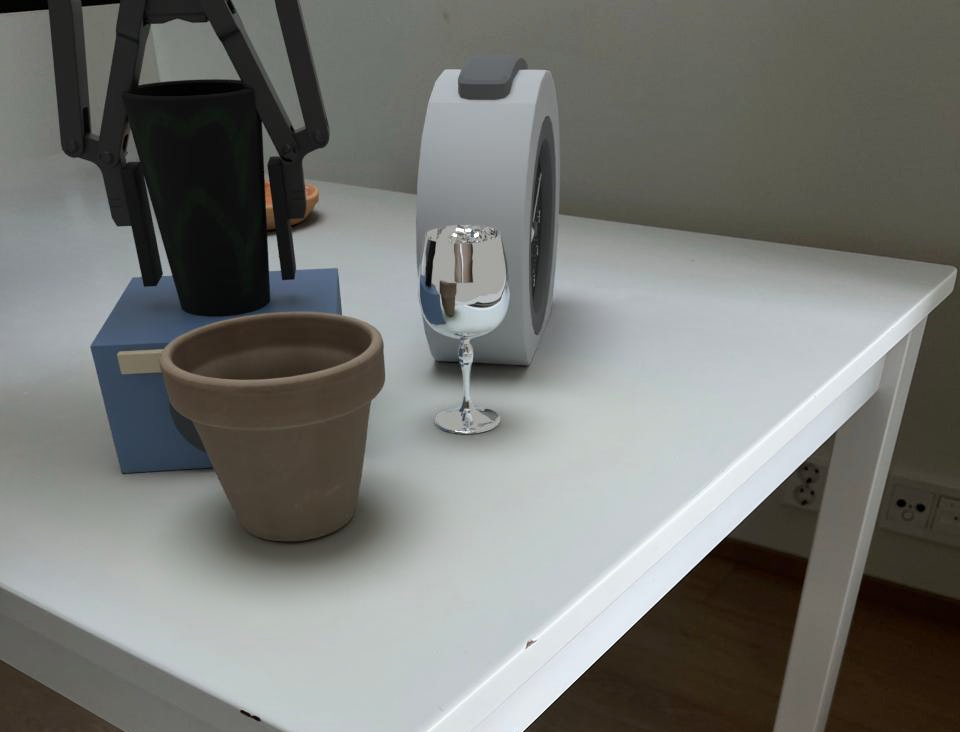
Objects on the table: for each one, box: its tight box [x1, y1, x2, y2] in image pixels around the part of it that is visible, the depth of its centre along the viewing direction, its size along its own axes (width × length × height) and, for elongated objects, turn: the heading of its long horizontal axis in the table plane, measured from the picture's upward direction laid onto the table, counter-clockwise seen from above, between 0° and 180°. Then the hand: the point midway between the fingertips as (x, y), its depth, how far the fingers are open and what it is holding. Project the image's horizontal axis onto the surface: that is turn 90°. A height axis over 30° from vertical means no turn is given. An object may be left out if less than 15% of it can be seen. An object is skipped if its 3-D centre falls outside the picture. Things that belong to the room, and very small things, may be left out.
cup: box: [121, 78, 270, 317], centre depth 60 cm, size 8×8×12 cm
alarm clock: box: [415, 53, 561, 366], centre depth 76 cm, size 21×8×20 cm, turn 170°
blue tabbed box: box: [89, 267, 343, 474], centre depth 65 cm, size 14×14×8 cm
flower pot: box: [159, 312, 386, 542], centre depth 54 cm, size 12×11×10 cm
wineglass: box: [417, 225, 510, 435], centre depth 64 cm, size 6×6×12 cm
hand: (221, 276), depth 62 cm, fingers closed on cup, 8 cm apart
